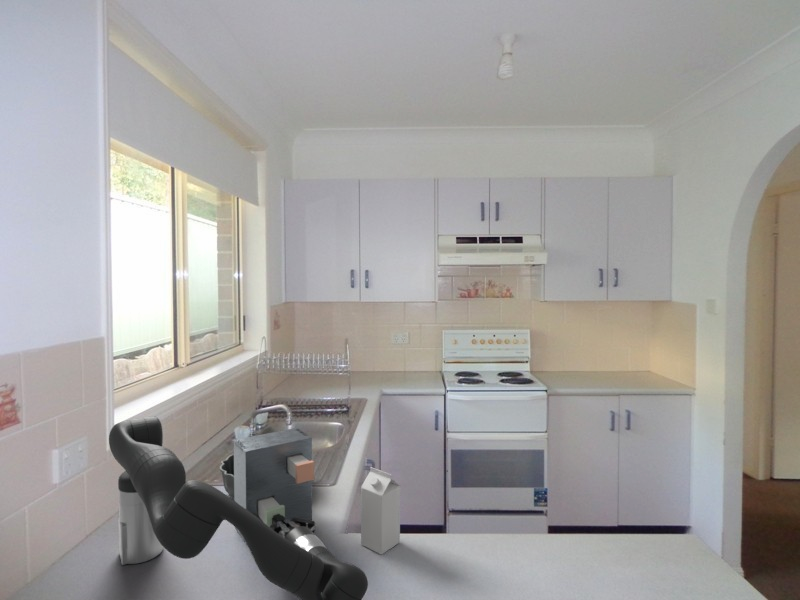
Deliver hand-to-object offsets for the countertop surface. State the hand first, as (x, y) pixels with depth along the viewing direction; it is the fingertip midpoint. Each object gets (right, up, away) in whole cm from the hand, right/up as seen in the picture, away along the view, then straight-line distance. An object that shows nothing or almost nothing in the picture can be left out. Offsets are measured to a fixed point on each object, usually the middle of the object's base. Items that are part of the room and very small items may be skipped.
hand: (275, 518), depth 116 cm
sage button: (-3, -2, +4) cm, 5 cm away
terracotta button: (+4, +8, +8) cm, 12 cm away
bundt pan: (-12, -7, +33) cm, 35 cm away
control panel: (-4, -8, +13) cm, 15 cm away
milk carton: (+26, -9, +4) cm, 27 cm away
